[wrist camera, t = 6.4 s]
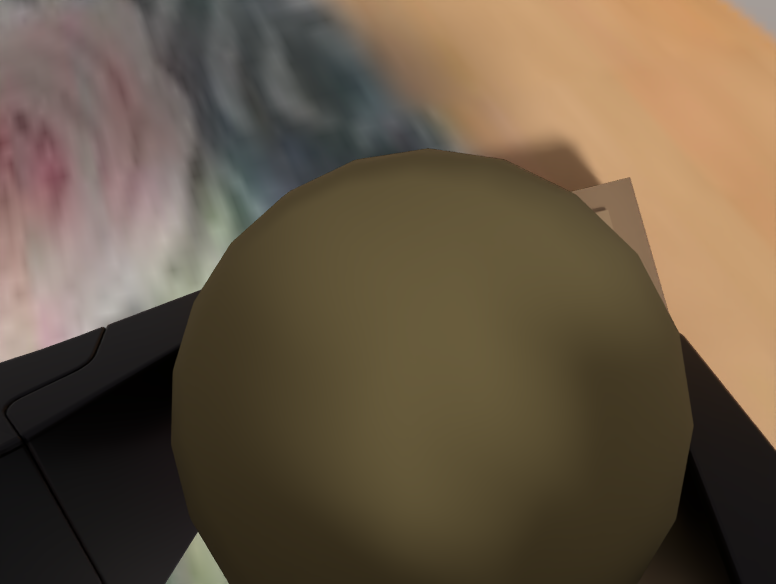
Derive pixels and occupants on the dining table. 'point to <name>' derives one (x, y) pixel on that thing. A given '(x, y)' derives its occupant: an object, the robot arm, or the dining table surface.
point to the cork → (431, 386)
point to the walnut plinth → (623, 219)
